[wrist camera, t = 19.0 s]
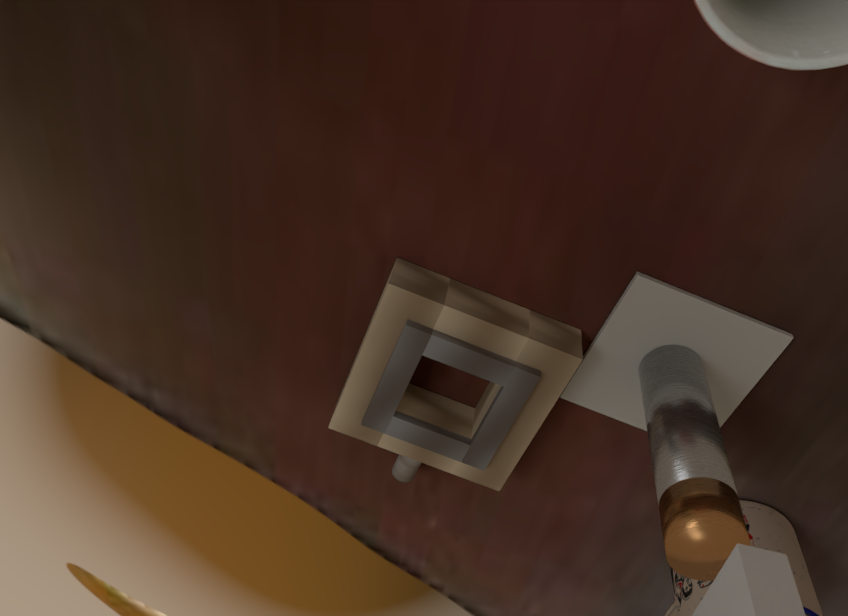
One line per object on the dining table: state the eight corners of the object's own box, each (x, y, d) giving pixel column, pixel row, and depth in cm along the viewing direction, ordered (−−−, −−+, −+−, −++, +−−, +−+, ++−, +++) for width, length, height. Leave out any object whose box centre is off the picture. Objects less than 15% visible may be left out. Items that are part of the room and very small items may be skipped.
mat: (559, 393, 51) (559, 397, 50) (637, 271, 45) (637, 274, 45) (699, 447, 51) (700, 451, 51) (791, 334, 46) (793, 338, 46)
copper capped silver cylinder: (650, 338, 47) (683, 517, 35) (713, 352, 47) (766, 536, 35) (629, 386, 49) (654, 570, 37) (689, 400, 49) (732, 588, 37)
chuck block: (326, 428, 55) (313, 464, 52) (397, 257, 47) (386, 289, 44) (484, 487, 56) (480, 526, 53) (581, 330, 48) (583, 365, 45)
